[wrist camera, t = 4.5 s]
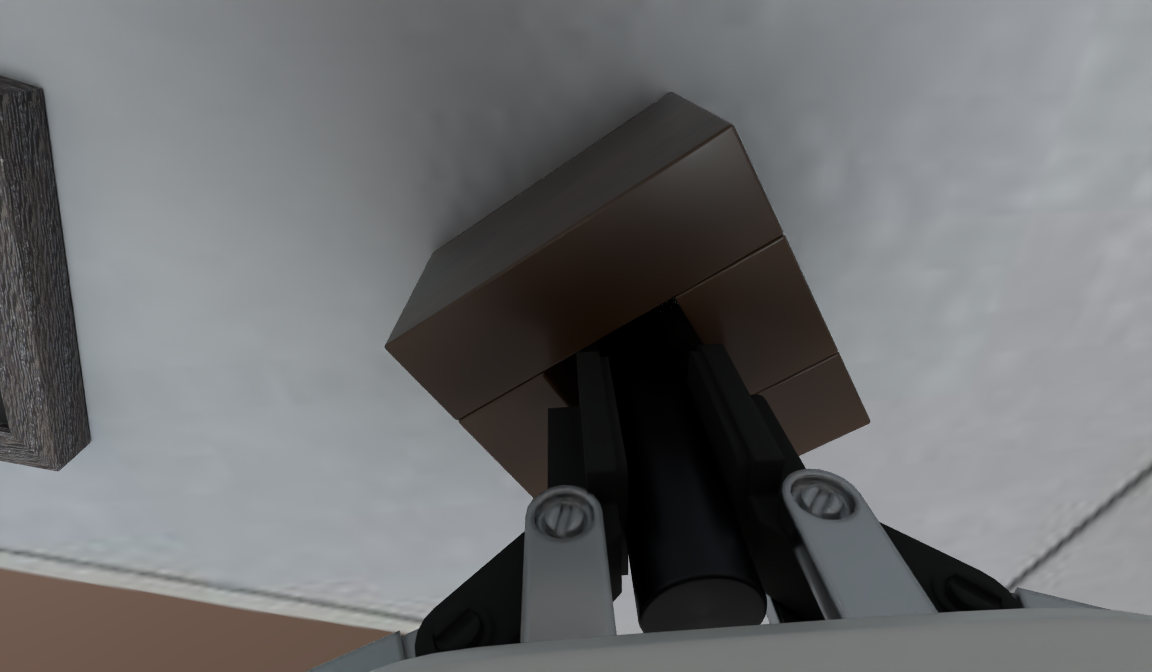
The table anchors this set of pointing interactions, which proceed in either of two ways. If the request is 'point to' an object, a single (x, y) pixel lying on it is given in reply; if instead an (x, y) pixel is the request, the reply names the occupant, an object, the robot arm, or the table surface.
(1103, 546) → the table surface
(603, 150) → the holder
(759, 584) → the black cylindrical rod
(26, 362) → the picture frame
